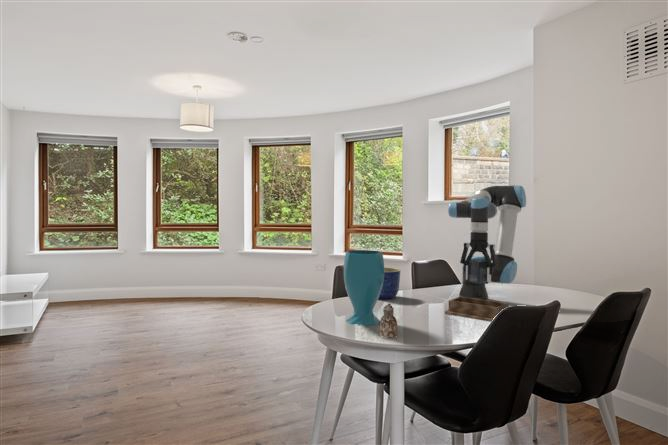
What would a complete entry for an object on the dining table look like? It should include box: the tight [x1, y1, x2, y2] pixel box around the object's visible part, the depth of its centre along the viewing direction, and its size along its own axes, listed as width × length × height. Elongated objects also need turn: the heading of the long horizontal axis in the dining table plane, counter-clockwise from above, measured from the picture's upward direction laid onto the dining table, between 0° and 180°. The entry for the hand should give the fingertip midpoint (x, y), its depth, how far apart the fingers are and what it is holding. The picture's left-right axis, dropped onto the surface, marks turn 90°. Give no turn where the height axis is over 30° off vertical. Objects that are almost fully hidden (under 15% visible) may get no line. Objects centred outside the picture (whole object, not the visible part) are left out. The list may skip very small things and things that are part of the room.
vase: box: [343, 249, 385, 326], centre depth 194 cm, size 17×17×30 cm
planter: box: [378, 266, 401, 300], centre depth 244 cm, size 17×17×15 cm
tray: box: [444, 296, 509, 322], centre depth 207 cm, size 25×16×6 cm, turn 50°
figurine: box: [378, 303, 399, 338], centre depth 173 cm, size 7×7×12 cm
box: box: [468, 259, 489, 285], centre depth 206 cm, size 8×6×11 cm
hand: (478, 280), depth 206 cm, fingers closed on box, 9 cm apart
